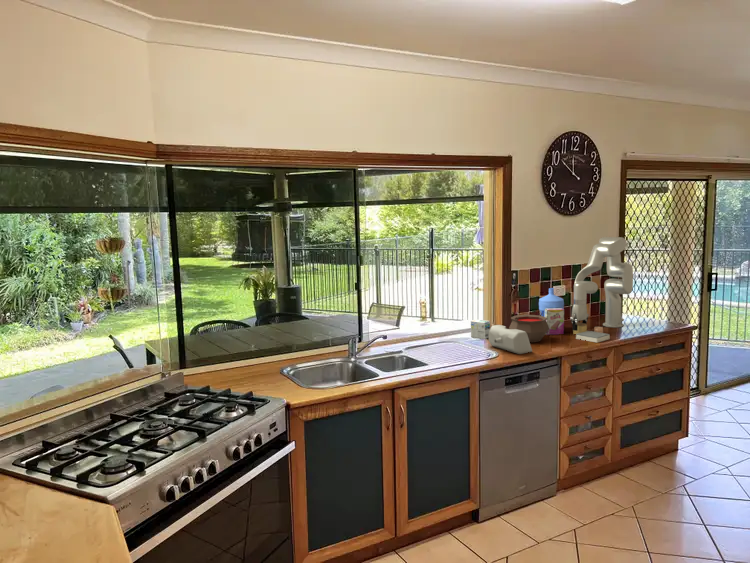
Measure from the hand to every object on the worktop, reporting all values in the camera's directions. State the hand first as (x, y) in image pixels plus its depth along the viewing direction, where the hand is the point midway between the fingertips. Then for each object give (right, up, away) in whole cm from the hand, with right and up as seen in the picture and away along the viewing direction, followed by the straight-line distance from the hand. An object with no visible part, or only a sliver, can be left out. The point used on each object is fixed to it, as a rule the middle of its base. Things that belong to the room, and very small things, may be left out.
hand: (579, 329), depth 333 cm
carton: (+1, -4, +1) cm, 4 cm away
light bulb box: (-61, -6, +4) cm, 62 cm away
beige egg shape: (+11, -4, -3) cm, 12 cm away
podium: (+3, -5, -12) cm, 13 cm away
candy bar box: (-14, -4, +5) cm, 15 cm away
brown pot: (-34, -6, -7) cm, 35 cm away
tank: (-53, -10, -29) cm, 61 cm away
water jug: (-13, -2, +15) cm, 20 cm away
